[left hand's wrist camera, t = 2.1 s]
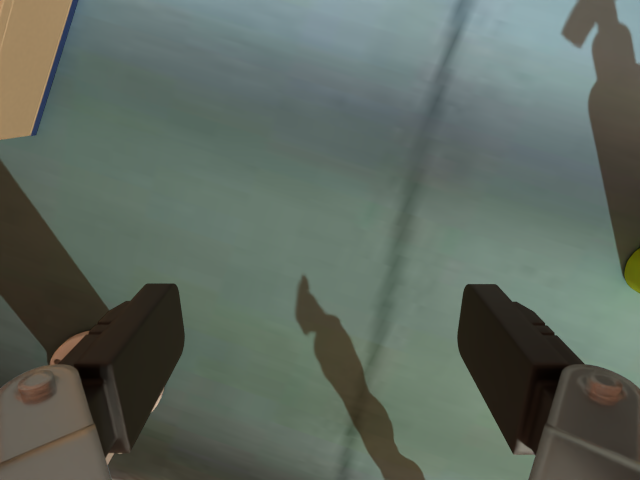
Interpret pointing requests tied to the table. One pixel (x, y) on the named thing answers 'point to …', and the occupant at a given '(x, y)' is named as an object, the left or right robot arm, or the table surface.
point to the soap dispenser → (633, 271)
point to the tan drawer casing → (29, 59)
